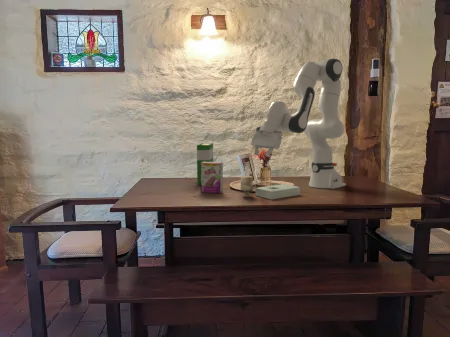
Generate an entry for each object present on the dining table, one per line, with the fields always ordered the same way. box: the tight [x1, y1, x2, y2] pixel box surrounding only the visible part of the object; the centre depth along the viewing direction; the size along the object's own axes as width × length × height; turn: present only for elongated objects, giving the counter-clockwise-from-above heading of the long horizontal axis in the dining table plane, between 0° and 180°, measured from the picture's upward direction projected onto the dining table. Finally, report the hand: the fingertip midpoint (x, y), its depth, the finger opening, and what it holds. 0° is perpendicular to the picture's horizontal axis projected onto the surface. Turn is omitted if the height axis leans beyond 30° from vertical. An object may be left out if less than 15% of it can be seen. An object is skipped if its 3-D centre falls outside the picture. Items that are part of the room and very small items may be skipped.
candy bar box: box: [200, 161, 224, 194], centre depth 204 cm, size 11×5×16 cm, turn 74°
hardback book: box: [196, 142, 214, 186], centre depth 235 cm, size 18×7×24 cm, turn 174°
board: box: [255, 183, 301, 200], centre depth 197 cm, size 20×12×4 cm, turn 125°
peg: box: [240, 175, 254, 198], centre depth 194 cm, size 6×6×10 cm
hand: (261, 155), depth 197 cm, fingers open, 8 cm apart
